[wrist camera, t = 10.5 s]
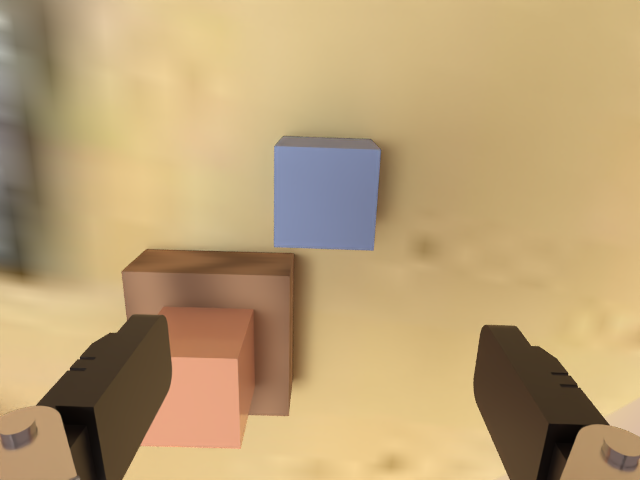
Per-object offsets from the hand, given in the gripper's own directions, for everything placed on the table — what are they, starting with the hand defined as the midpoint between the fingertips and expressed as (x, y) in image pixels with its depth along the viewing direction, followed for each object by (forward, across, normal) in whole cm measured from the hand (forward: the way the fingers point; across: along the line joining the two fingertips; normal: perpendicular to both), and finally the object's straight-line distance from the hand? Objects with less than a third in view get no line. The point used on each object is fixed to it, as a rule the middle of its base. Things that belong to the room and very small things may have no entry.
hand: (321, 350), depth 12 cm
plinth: (+19, +7, +10) cm, 22 cm away
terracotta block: (+15, +7, +10) cm, 19 cm away
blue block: (+19, 0, 0) cm, 19 cm away
